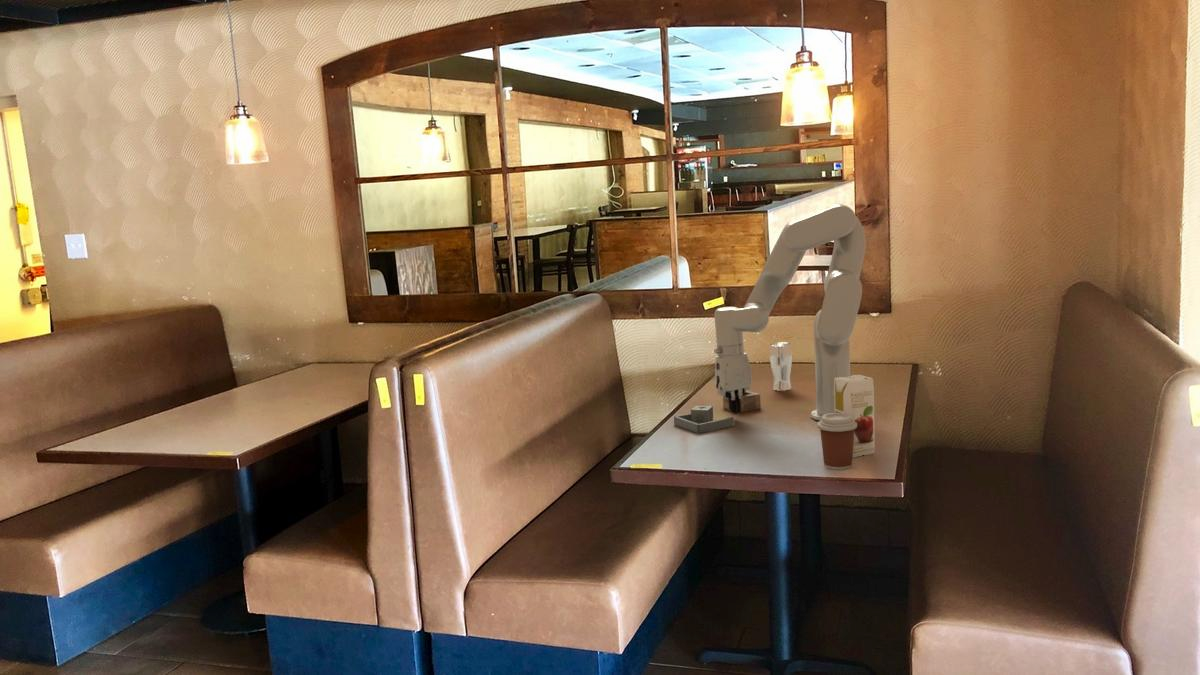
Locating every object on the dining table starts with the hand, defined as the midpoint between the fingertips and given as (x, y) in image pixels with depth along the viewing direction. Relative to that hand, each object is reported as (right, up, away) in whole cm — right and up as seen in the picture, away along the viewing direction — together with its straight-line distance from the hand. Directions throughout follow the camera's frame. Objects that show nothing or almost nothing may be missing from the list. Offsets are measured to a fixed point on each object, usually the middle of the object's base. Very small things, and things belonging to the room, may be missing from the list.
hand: (735, 412), depth 265 cm
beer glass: (+20, +4, +35) cm, 41 cm away
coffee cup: (+17, -9, -48) cm, 52 cm away
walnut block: (+4, 0, +13) cm, 13 cm away
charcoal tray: (-10, -3, -4) cm, 11 cm away
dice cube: (-10, -4, -3) cm, 11 cm away
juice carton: (+24, -7, -39) cm, 47 cm away
